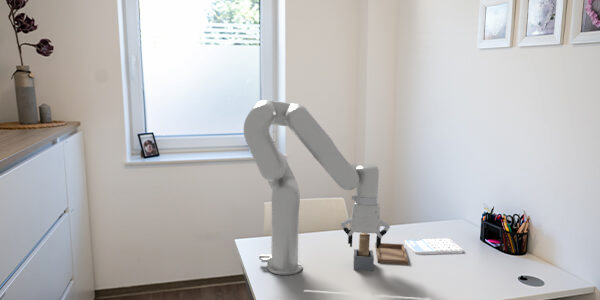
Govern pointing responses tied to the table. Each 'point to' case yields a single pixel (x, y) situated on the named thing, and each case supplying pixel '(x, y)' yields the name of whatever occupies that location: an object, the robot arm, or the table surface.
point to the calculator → (433, 246)
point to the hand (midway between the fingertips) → (364, 246)
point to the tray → (391, 254)
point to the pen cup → (363, 261)
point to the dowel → (364, 244)
